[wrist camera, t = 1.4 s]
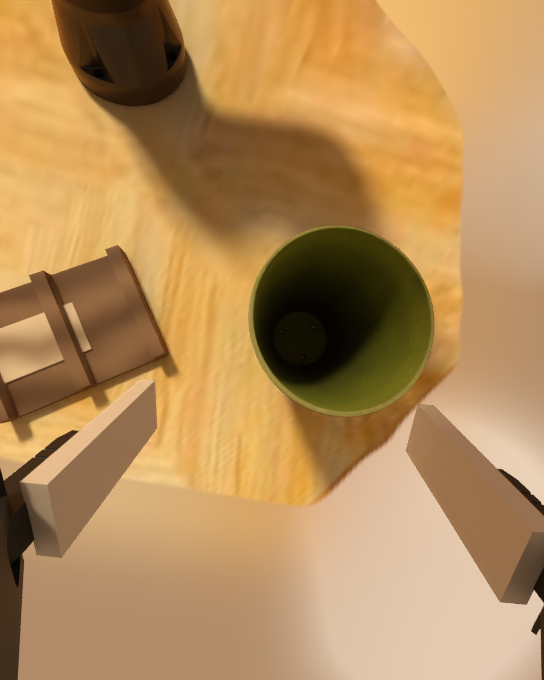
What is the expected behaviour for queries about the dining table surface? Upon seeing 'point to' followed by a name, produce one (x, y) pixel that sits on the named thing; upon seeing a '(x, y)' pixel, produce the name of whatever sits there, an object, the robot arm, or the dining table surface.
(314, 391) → the flower pot
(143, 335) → the slot board
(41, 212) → the dining table surface
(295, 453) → the dining table surface
